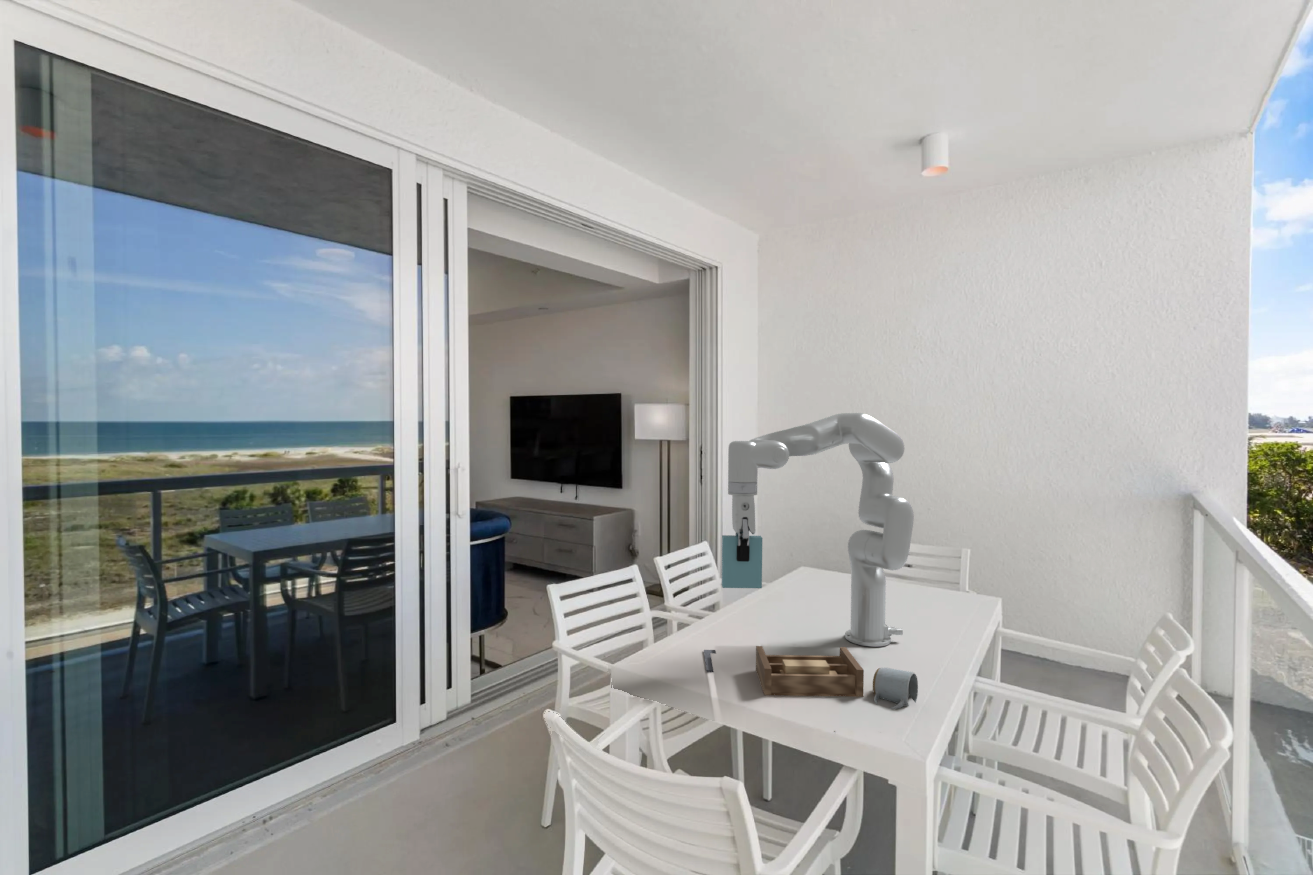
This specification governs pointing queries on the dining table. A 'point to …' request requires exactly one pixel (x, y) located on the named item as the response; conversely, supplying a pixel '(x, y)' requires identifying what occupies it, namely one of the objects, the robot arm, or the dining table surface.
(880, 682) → the ceramic mug
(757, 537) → the teal rectangular block
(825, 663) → the oak offcuts
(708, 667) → the gray l-shaped bracket
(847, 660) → the walnut rack
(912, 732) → the dining table surface
